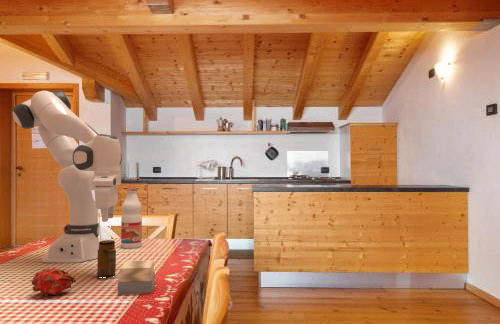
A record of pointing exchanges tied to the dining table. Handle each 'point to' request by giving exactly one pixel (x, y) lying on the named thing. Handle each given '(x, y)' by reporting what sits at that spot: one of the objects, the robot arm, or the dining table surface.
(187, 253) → the dining table surface
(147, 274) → the tower block upper
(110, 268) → the condiment
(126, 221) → the fruit juice
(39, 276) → the dragon fruit
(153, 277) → the tower block lower
